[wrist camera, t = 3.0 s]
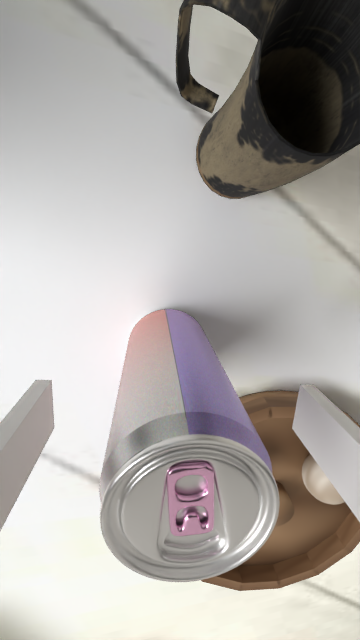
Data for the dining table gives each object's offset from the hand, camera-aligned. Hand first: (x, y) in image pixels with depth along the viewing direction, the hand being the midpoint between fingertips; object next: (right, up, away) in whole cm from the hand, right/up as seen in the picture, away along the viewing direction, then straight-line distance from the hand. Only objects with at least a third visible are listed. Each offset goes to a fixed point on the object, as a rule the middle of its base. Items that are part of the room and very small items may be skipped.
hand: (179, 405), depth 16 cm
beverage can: (-1, +3, +8) cm, 8 cm away
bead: (+12, -8, +11) cm, 18 cm away
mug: (+3, +16, +4) cm, 17 cm away
